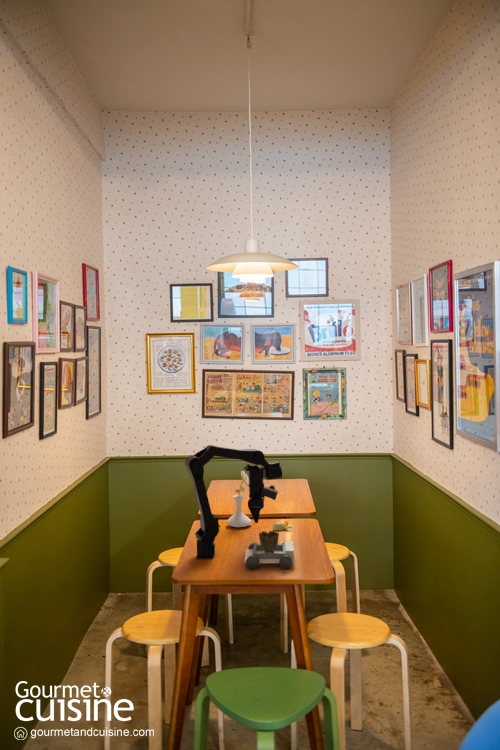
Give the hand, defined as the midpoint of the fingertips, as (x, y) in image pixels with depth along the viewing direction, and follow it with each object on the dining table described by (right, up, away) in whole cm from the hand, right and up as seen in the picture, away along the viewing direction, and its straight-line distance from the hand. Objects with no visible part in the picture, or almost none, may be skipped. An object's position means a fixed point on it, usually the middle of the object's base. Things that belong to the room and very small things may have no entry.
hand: (256, 519), depth 264 cm
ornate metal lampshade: (+4, -10, -16) cm, 19 cm away
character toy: (+13, -12, +30) cm, 34 cm away
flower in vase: (-7, -11, +39) cm, 41 cm away
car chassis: (+5, -12, -16) cm, 21 cm away
